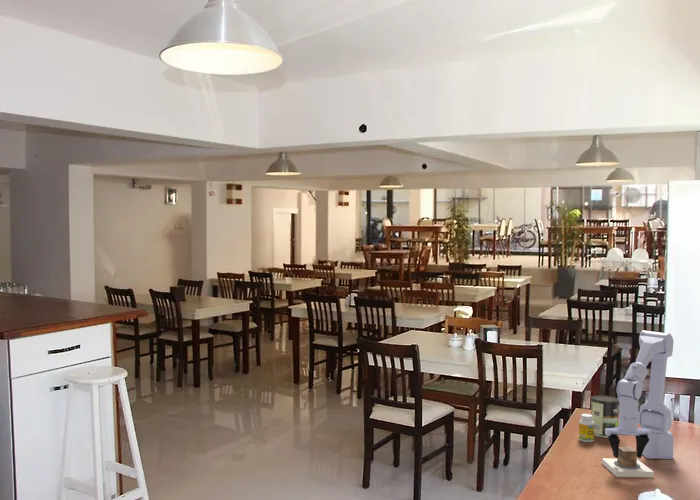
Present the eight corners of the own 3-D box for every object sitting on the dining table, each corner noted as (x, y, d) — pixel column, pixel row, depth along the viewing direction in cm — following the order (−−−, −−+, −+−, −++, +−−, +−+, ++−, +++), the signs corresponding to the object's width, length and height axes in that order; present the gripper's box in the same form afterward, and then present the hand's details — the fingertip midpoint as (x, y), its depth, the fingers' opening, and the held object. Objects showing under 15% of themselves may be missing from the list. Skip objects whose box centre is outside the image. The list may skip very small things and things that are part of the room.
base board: (636, 464, 222) (636, 458, 222) (653, 477, 210) (653, 471, 210) (601, 463, 221) (601, 457, 221) (616, 476, 209) (616, 470, 209)
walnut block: (630, 461, 218) (631, 446, 218) (636, 466, 214) (636, 451, 213) (617, 461, 218) (617, 446, 218) (622, 466, 214) (623, 451, 213)
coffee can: (620, 433, 256) (621, 397, 256) (615, 439, 247) (616, 403, 247) (593, 428, 262) (594, 393, 261) (587, 435, 253) (588, 399, 253)
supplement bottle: (584, 437, 250) (585, 412, 250) (596, 441, 246) (597, 415, 245) (575, 439, 247) (576, 414, 247) (587, 443, 243) (588, 417, 243)
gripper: (611, 419, 211) (610, 461, 211) (656, 420, 211) (654, 461, 211) (602, 413, 218) (601, 453, 218) (646, 414, 218) (644, 454, 219)
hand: (627, 457), depth 215 cm, fingers open, 7 cm apart
